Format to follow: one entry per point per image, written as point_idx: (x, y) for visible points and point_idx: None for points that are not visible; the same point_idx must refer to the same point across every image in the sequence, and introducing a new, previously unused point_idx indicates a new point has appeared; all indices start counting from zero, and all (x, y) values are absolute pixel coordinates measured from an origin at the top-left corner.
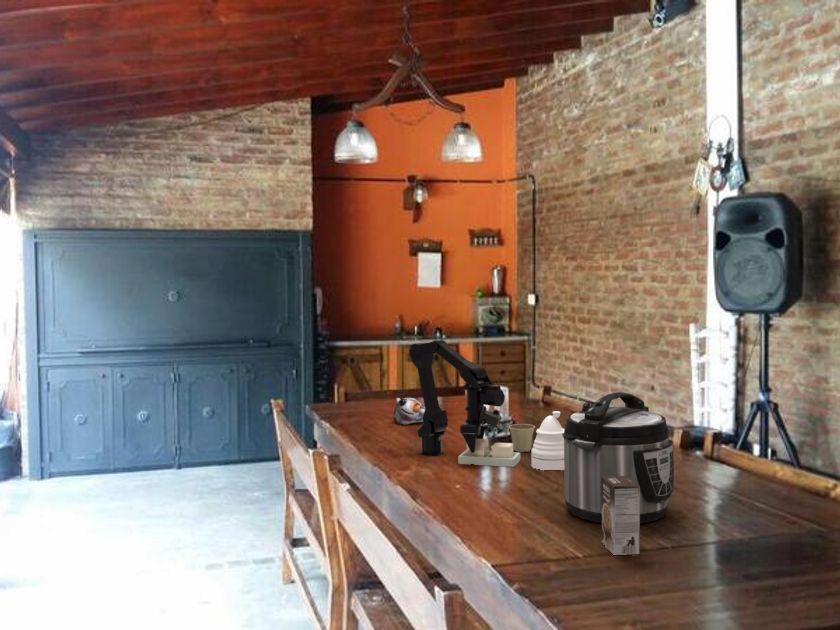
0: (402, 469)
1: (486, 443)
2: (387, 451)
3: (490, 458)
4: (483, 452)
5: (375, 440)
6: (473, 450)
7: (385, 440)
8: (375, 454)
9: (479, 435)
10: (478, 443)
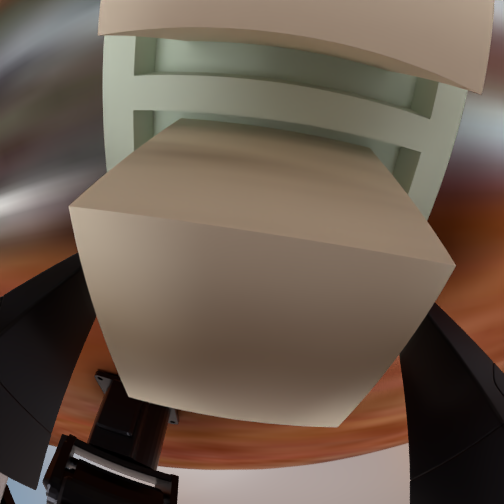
0: (403, 428)
1: (245, 198)
2: (169, 451)
3: (464, 94)
4: (395, 187)
5: (84, 440)
6: (431, 309)
7: (72, 431)
8: (211, 463)
9: (37, 357)
10: (405, 330)
